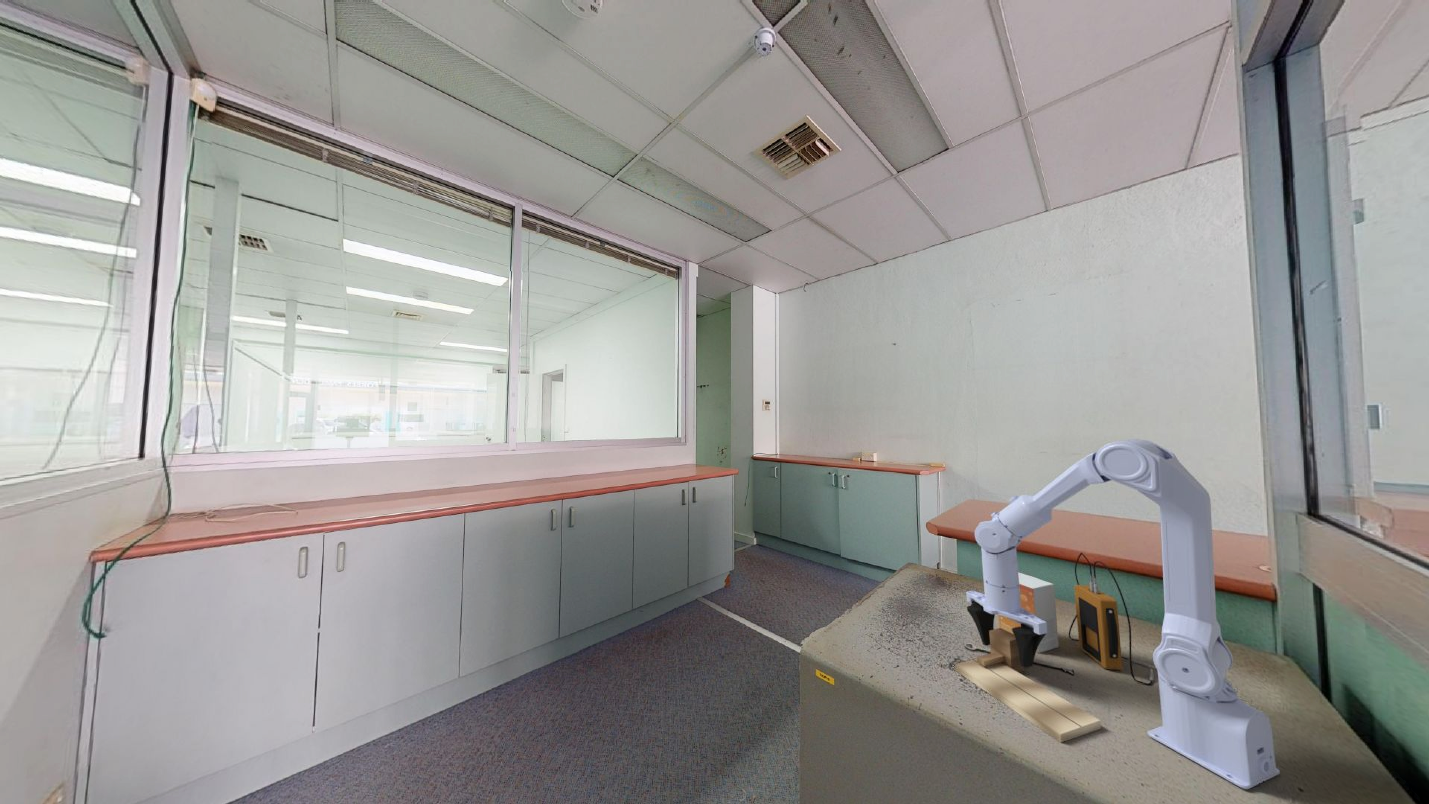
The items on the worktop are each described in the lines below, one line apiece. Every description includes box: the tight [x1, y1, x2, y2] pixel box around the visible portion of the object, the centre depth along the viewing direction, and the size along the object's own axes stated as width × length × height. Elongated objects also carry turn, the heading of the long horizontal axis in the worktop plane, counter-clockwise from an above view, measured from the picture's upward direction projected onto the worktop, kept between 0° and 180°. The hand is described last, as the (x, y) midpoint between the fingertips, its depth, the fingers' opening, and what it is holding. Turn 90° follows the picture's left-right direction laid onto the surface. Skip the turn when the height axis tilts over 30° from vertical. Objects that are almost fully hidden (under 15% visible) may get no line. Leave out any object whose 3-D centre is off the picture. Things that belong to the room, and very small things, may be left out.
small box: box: [998, 571, 1059, 654], centre depth 85 cm, size 8×6×13 cm
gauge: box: [976, 628, 1025, 673], centre depth 76 cm, size 4×8×6 cm, turn 106°
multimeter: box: [1068, 552, 1157, 686], centre depth 77 cm, size 15×10×20 cm
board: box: [954, 658, 1102, 743], centre depth 68 cm, size 18×8×1 cm, turn 16°
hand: (1006, 654), depth 76 cm, fingers open, 7 cm apart
